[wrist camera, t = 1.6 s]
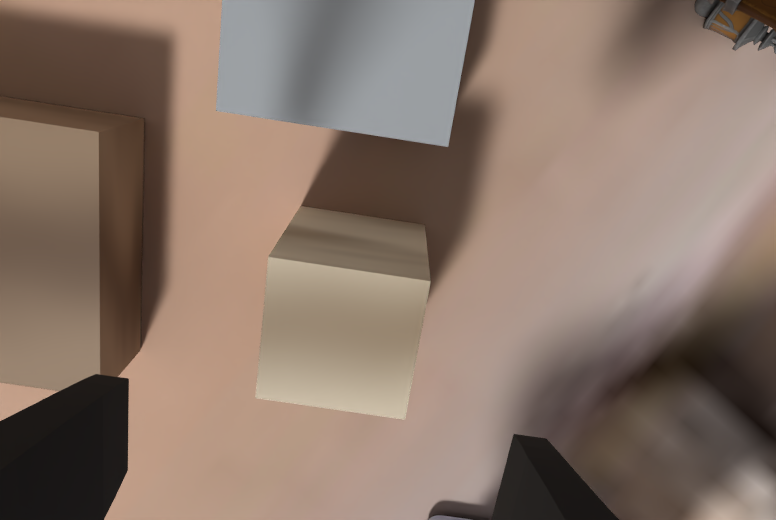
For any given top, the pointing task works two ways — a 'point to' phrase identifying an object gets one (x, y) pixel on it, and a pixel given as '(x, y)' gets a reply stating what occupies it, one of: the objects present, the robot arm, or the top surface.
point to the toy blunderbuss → (741, 20)
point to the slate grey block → (346, 64)
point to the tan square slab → (69, 243)
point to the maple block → (344, 312)
